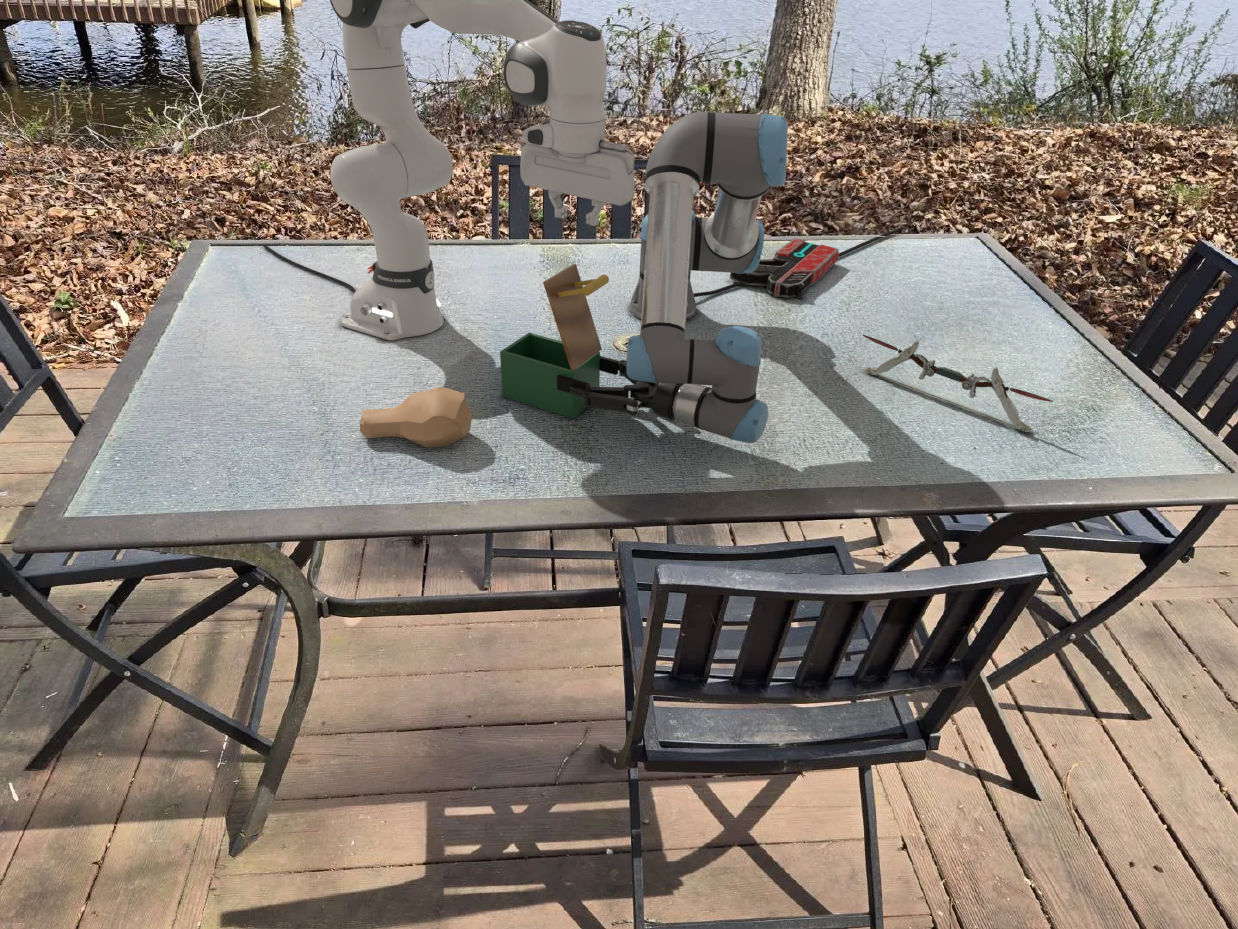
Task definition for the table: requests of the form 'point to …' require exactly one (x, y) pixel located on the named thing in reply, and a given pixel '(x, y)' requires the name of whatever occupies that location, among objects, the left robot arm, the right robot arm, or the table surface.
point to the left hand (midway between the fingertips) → (576, 220)
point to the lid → (574, 313)
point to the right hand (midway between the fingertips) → (573, 370)
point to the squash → (422, 418)
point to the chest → (544, 374)
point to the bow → (967, 383)
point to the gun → (791, 268)
